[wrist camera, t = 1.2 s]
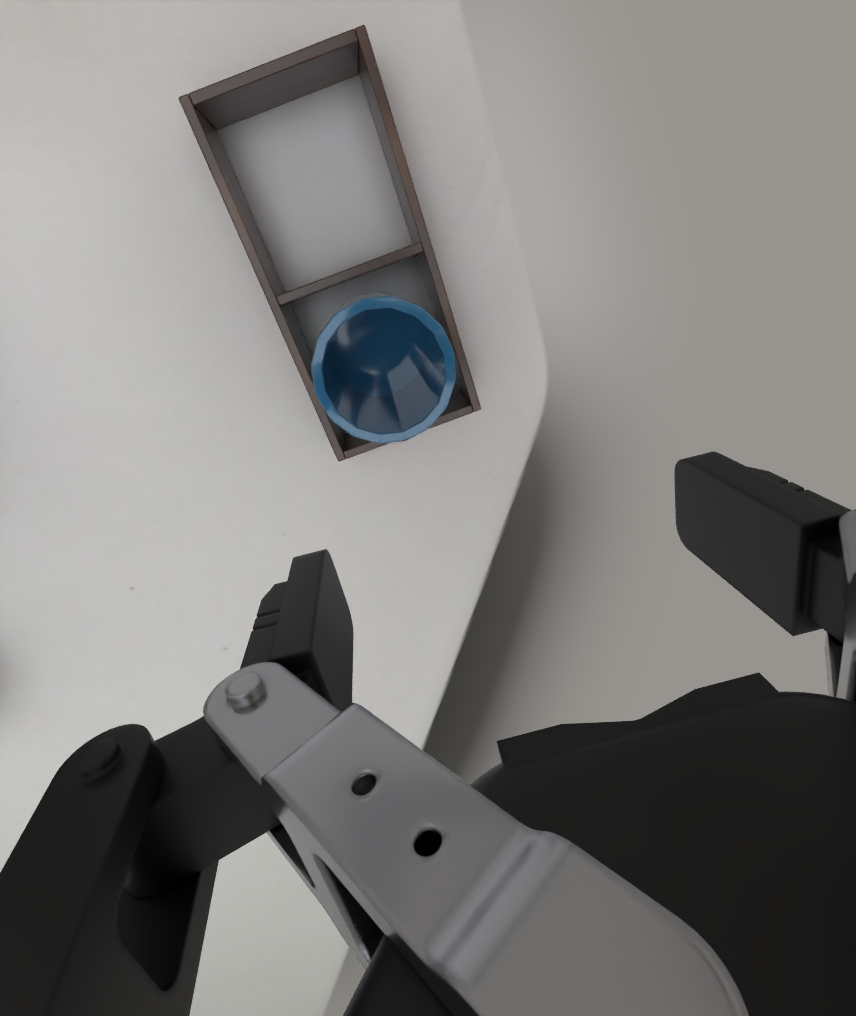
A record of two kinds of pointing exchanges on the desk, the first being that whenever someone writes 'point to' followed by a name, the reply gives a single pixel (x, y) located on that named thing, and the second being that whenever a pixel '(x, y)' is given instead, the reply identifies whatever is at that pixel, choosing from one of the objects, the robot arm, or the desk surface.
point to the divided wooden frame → (205, 116)
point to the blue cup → (383, 368)
